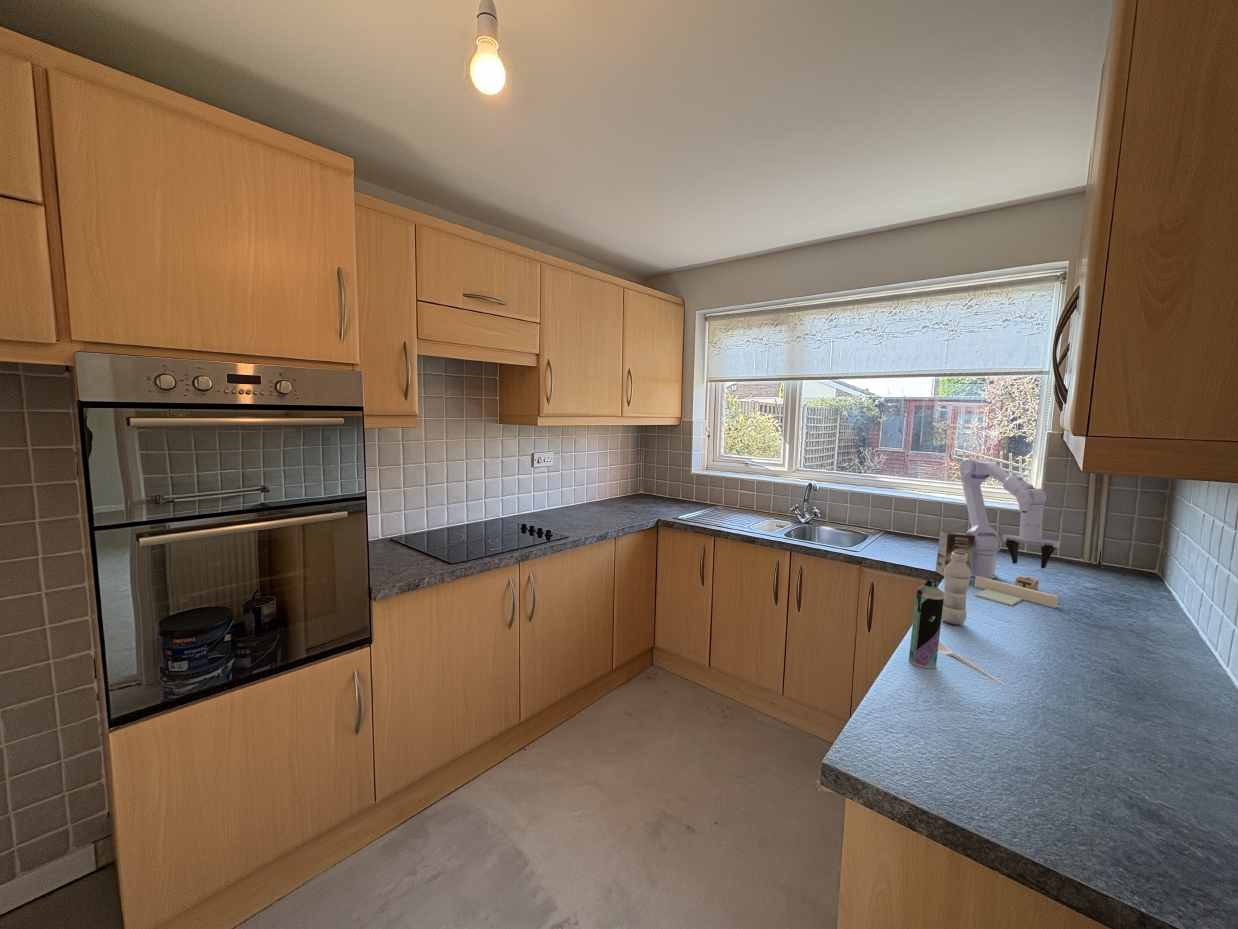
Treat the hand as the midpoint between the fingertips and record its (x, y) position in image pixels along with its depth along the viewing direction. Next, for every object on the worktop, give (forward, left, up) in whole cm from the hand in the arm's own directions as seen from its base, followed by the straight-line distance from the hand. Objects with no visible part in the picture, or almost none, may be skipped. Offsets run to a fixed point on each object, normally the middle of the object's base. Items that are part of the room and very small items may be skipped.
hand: (1028, 565), depth 168 cm
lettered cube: (-3, -1, -10) cm, 11 cm away
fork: (+74, +10, -11) cm, 75 cm away
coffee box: (-2, -23, -10) cm, 25 cm away
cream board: (+5, -2, -10) cm, 11 cm away
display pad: (+12, -4, -10) cm, 16 cm away
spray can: (+83, +4, -10) cm, 84 cm away
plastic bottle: (+50, -3, -10) cm, 51 cm away
